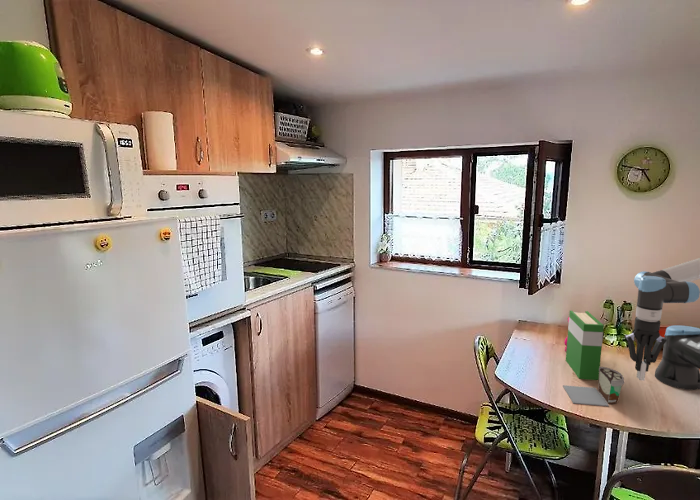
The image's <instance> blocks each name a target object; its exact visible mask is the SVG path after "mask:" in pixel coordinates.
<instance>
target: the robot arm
mask: <svg viewBox="0 0 700 500" xmlns="http://www.w3.org/2000/svg"><path fill="white" fill-rule="evenodd" d="M697 280H700V257H698V258H695V259H692V260H689V261H685V262H682V263H680V264H676V265H673V266H669V267H667V268H663V269H660V270H656V271H654V272H650V271H644V270H642V271H640V272H638V273H636V275H635V276H634V279H633V283H634V286H635V287H636V288H637V289H638V290H637V300H636V301H637V302H636V309H635V319H634V327H633V328H634V329H633V331H632V333H630V334H625V335H624V337H625V339H626V341H627V347H628V352H629V357H630V359H631V361H633V362H635V365H634V367H635V370H636V378H637V379H638V380H639V381H642V382H643V381H644V382H645V379H646V373H647V372H649V368H650V366H651V364H652V363H654V364H655V363H656V362H657V360H658V358H659V355H660V352H661V350H662V349H663V350H662V358H661V360H660V362H659V363H658V365H657V367H656V368H655V371H654V378H655V379H656V380H657V381H659V382H660V383H662V384H665V385H667V386H670V387H673V388H677V389H681V390H689V391H690V390H691V391H692V390H699V389H700V328H699V327H695V326H690V325H689V326H688V325H680V324H679V325H677V324H676V325H670V326H667V327H666V329H665V334H664V336H661V334H660V331H661V330H660V328H661V320H662V314H663V306H664V304H689V303H695V302H697V301H698V300H699V298H700V288H699V286H698V285H697V283H694V281H697ZM635 339H636V346H635V342H634V341H635ZM654 342H655V343H654Z"/></svg>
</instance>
